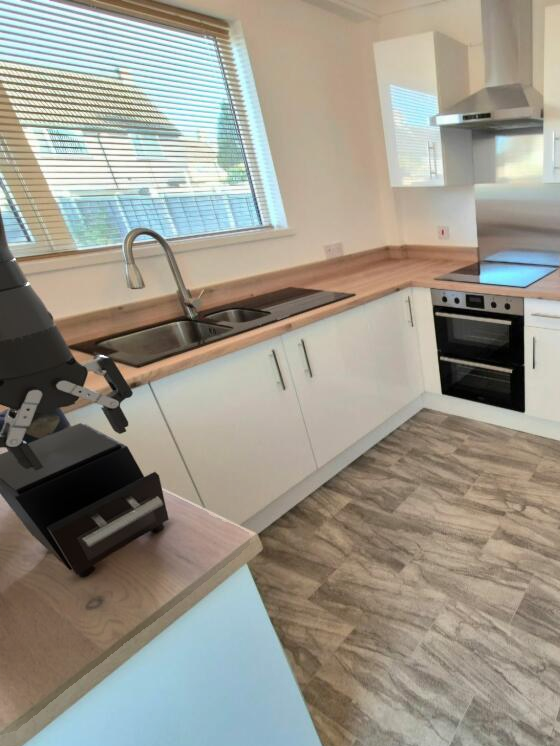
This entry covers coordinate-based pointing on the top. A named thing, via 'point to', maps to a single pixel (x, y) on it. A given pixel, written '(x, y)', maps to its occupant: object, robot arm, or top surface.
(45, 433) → the canister
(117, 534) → the oven door
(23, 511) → the oven
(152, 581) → the top surface
